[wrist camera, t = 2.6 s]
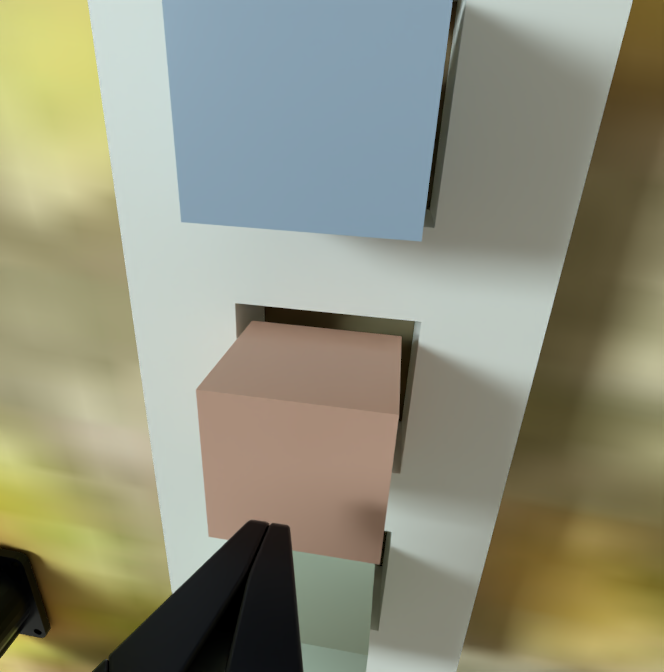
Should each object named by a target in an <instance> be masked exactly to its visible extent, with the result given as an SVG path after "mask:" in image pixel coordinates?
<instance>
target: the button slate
mask: <svg viewBox="0 0 664 672" xmlns="http://www.w3.org/2000/svg"><path fill="white" fill-rule="evenodd" d="M452 2H453V0H162V7H163V19H164V30H165V42H166V53H167V65H168V76H169V88H170V99H171V111H172V122H173V134H174V145H175V157H176V168H177V180H178V191H179V202H180V214H181V222H185V223H198V224H210V225H223V226H235V227H247V228H260V229H272V230H285V231H297V232H309V233H322V234H334V235H347V236H359V237H372V238H384V239H396V240H409V241H421V242H422V234H423V226H424V219H425V211H426V203H427V195H428V188H429V180H430V172H431V164H432V157H433V149H434V141H435V134H436V126H437V118H438V110H439V103H440V95H441V87H442V79H443V72H444V64H445V56H446V48H447V41H448V33H449V25H450V17H451V10H452Z"/></svg>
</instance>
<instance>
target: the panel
mask: <svg viewBox="0 0 664 672" xmlns="http://www.w3.org/2000/svg"><path fill="white" fill-rule="evenodd" d="M453 1H457V9H456V16H455V24H454V32H453V39H452V47H451V54H450V62H449V69H448V77H447V84H446V92H445V99H444V107H443V114H442V122H441V129H440V137H439V144H438V152H437V159H436V167H435V174H434V182H433V189H432V197H431V205H430V209H426V211H425V219H424V226H423V234H422V242H421V241H409V240H396V239H384V238H372V237H359V236H347V235H334V234H322V233H309V232H297V231H285V230H272V229H260V228H247V227H235V226H223V225H210V224H198V223H185V222H181V214H180V202H179V191H178V180H177V168H176V157H175V145H174V134H173V122H172V111H171V99H170V88H169V76H168V65H167V53H166V42H165V30H164V19H163V7H162V0H88V6H89V13H90V20H91V27H92V34H93V41H94V48H95V55H96V62H97V69H98V76H99V83H100V90H101V97H102V104H103V111H104V118H105V125H106V132H107V139H108V146H109V153H110V160H111V167H112V174H113V181H114V189H115V196H116V203H117V210H118V217H119V224H120V231H121V238H122V245H123V252H124V259H125V266H126V273H127V280H128V287H129V294H130V301H131V308H132V315H133V322H134V329H135V336H136V343H137V350H138V357H139V364H140V371H141V378H142V385H143V392H144V399H145V407H146V414H147V421H148V428H149V435H150V442H151V449H152V456H153V463H154V470H155V477H156V484H157V491H158V498H159V505H160V512H161V519H162V526H163V533H164V540H165V547H166V554H167V561H168V568H169V575H170V582H171V589H172V594H173V593H174V592H175V591H176V590H177V589H178V588H179V587H180V586H181V585H182V584H183V583H184V582H185V581H187V580H188V579H189V578H190V577H191V576H192V575H193V574H194V573H195V572H196V571H197V570H198V569H199V568H200V567H201V566H202V565H203V564H204V563H205V562H206V561H207V560H208V559H209V558H210V557H211V556H212V555H213V554H214V553H215V552H216V551H218V550H219V549H220V548H221V547H222V546H223V545H224V544H225V543H226V542H227V541H228V540H225V539H219V538H213V537H209V536H208V524H207V513H206V501H205V490H204V478H203V467H202V455H201V444H200V432H199V421H198V409H197V398H196V389H197V387H198V386H199V385H200V384H201V383H202V381H203V380H204V379H205V378H206V376H207V375H208V374H209V373H210V372H211V370H212V369H213V368H214V367H215V365H216V364H217V363H218V362H219V360H220V359H221V358H222V357H223V356H224V354H225V353H226V352H227V351H228V349H229V348H230V347H231V346H232V345H233V343H234V342H235V341H236V340H237V338H238V337H239V336H240V335H241V333H242V332H243V331H244V330H245V329H246V327H247V326H248V325H249V324H250V322H251V321H261V322H265V311H264V306H269V307H279V308H289V309H299V310H309V311H319V312H329V313H339V314H349V315H359V316H369V317H379V318H388V319H398V320H408V321H415V325H414V332H413V340H412V347H411V355H410V362H409V370H408V377H407V385H406V393H405V400H404V408H403V415H402V421H398V427H397V435H396V443H395V451H394V458H393V466H392V474H391V482H390V489H389V497H388V505H387V513H386V520H385V528H384V531H387V535H386V543H385V550H384V558H383V566H376V565H375V571H374V584H373V597H372V610H371V623H370V636H369V649H368V659H367V667H366V672H456V670H457V666H458V663H459V659H460V655H461V651H462V647H463V644H464V640H465V636H466V632H467V628H468V625H469V621H470V617H471V613H472V609H473V606H474V602H475V598H476V594H477V590H478V587H479V583H480V579H481V575H482V571H483V568H484V564H485V560H486V556H487V553H488V549H489V545H490V541H491V537H492V534H493V530H494V526H495V522H496V518H497V515H498V511H499V507H500V503H501V499H502V496H503V492H504V488H505V484H506V480H507V477H508V473H509V469H510V465H511V461H512V458H513V454H514V450H515V446H516V442H517V439H518V435H519V431H520V427H521V423H522V420H523V416H524V412H525V408H526V404H527V401H528V397H529V393H530V389H531V385H532V382H533V378H534V374H535V370H536V366H537V363H538V359H539V355H540V351H541V347H542V344H543V340H544V336H545V332H546V328H547V325H548V321H549V317H550V313H551V309H552V306H553V302H554V298H555V294H556V290H557V287H558V283H559V279H560V275H561V271H562V268H563V264H564V260H565V256H566V252H567V249H568V245H569V241H570V237H571V233H572V230H573V226H574V222H575V218H576V214H577V211H578V207H579V203H580V199H581V196H582V192H583V188H584V184H585V180H586V177H587V173H588V169H589V165H590V161H591V158H592V154H593V150H594V146H595V142H596V139H597V135H598V131H599V127H600V123H601V120H602V116H603V112H604V108H605V104H606V101H607V97H608V93H609V89H610V85H611V82H612V78H613V74H614V70H615V66H616V63H617V59H618V55H619V51H620V47H621V44H622V40H623V36H624V32H625V28H626V25H627V21H628V17H629V13H630V9H631V6H632V2H633V0H453Z"/></svg>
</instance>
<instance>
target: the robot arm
mask: <svg viewBox="0 0 664 672" xmlns="http://www.w3.org/2000/svg"><path fill="white" fill-rule="evenodd" d="M50 629H51V627H50V623H49V620H48V617H47V614H46V611H45V608H44V605H43V601H42V598H41V595H40V592H39V589H38V586H37V583H36V579H35V576H34V573H33V570H32V567H31V564H30V561H29V559H28V557H27V556H26V555H25V554H23V553H21V552H17V551H11V550H5V549H0V658H1V657H2V656H3V654H4V653H5V652H6V650H7V649H8V648H9V647H10V645H11V644H12V643H13V641H14V640H15V639H16V637H17V636H18V635H19V634H24V635H29V636H34V637H39V638H43V637H45V636H46V635H47V633H48V632H49V630H50ZM92 672H304V671H303V660H302V649H301V639H300V628H299V617H298V606H297V595H296V585H295V574H294V563H293V552H292V541H291V531H290V527H289V525H285V524H279V523H271V524H270V525H269V523H268V522H266V521H259V520H249V521H248V522H246V523H245V524H244V525H243V526H242V527H241V528H240V529H239V530H238V531H237V532H236V533H235V534H234V535H233V536H232V537H231V538H230V539H229V540H228V541H227V542H226V543H225V544H224V545H223V546H222V547H221V548H220V549H219V550H218V551H216V552H215V553H214V554H213V555H212V556H211V557H210V558H209V559H208V560H207V561H206V562H205V563H204V564H203V565H202V566H201V567H200V568H199V569H198V570H197V571H196V572H195V573H194V574H193V575H192V576H191V577H190V578H189V579H188V580H187V581H185V582H184V583H183V584H182V585H181V586H180V587H179V588H178V589H177V590H176V591H175V592H174V593H173V594H172V595H171V596H170V597H169V598H168V599H167V600H166V601H165V602H164V603H163V604H162V605H161V606H160V607H159V608H158V609H157V610H156V611H155V612H153V613H152V614H151V615H150V616H149V617H148V618H147V619H146V620H145V621H144V622H143V623H142V624H141V625H140V626H139V627H138V628H137V629H136V630H135V631H134V632H133V633H132V634H131V635H130V636H129V637H128V638H127V639H126V640H125V641H124V642H123V643H121V644H120V645H119V646H118V647H117V648H116V649H115V650H114V651H113V652H112V653H111V654H110V655H109V661H108V660H107V659H105V660H104V661H103V662H102V663H100V664H99V665H98V666H97V667H96V668H95V669H94V670H93V671H92Z"/></svg>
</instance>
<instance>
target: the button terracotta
mask: <svg viewBox="0 0 664 672" xmlns="http://www.w3.org/2000/svg"><path fill="white" fill-rule="evenodd" d="M401 341H402V336H395V335H385V334H375V333H366V332H356V331H347V330H337V329H328V328H318V327H309V326H299V325H289V324H280V323H270V322H261V321H251V322H250V324H249V325H248V326H247V327H246V329H245V330H244V331H243V332H242V333H241V335H240V336H239V337H238V338H237V340H236V341H235V342H234V343H233V345H232V346H231V347H230V348H229V349H228V351H227V352H226V353H225V354H224V356H223V357H222V358H221V359H220V360H219V362H218V363H217V364H216V365H215V367H214V368H213V369H212V370H211V372H210V373H209V374H208V375H207V376H206V378H205V379H204V380H203V381H202V383H201V384H200V385H199V386H198V387H197V389H196V398H197V409H198V421H199V432H200V444H201V455H202V467H203V478H204V490H205V501H206V513H207V524H208V536H209V537H213V538H219V539H225V540H229V539H230V538H231V537H232V536H233V535H234V534H235V533H236V532H237V531H238V530H239V529H240V528H241V527H242V526H243V525H244V524H245V523H246V522H248V521H249V520H259V521H266V522H268V523H269V525H270V524H271V523H279V524H285V525H289V527H290V531H291V541H292V550H293V551H299V552H305V553H311V554H317V555H323V556H330V557H336V558H342V559H348V560H354V561H360V562H366V563H373V564H379V565H380V559H381V551H382V543H383V536H384V528H385V520H386V513H387V505H388V497H389V489H390V482H391V474H392V466H393V458H394V451H395V443H396V435H397V427H398V420H399V403H400V372H401Z"/></svg>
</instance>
